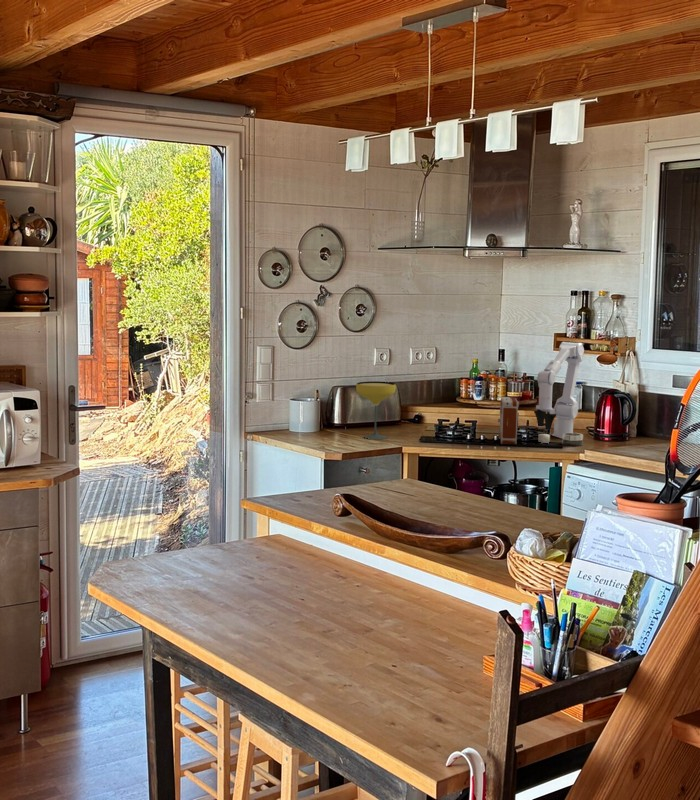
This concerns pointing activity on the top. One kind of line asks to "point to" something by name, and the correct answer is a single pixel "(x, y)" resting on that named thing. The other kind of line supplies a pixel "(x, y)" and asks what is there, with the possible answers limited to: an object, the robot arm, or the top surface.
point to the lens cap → (544, 438)
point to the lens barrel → (572, 439)
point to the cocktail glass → (375, 397)
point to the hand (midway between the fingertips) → (544, 427)
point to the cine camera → (508, 420)
